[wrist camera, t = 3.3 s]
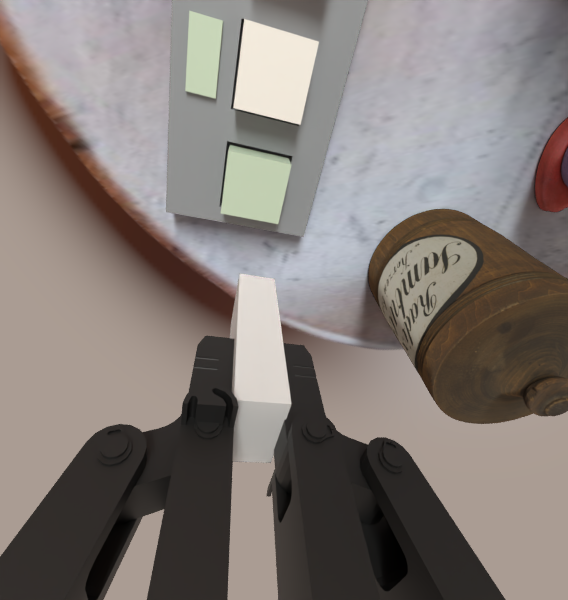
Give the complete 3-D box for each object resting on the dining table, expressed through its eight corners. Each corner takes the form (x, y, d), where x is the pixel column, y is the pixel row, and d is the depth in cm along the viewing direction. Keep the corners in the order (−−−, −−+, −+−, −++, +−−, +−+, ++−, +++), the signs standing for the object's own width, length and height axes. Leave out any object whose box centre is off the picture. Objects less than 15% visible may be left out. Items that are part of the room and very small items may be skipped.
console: (187, -202, 20) (177, -247, 18) (389, -116, 23) (408, -144, 20) (172, 202, 34) (165, 213, 31) (299, 226, 37) (303, 238, 34)
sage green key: (230, 144, 29) (228, 150, 27) (288, 158, 30) (291, 164, 28) (223, 203, 32) (220, 213, 30) (276, 213, 33) (278, 224, 31)
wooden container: (386, 201, 36) (524, 322, 18) (505, 214, 38) (736, 334, 20) (354, 309, 44) (426, 468, 26) (453, 315, 46) (585, 466, 28)
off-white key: (244, 25, 25) (244, 18, 22) (312, 45, 26) (319, 41, 23) (235, 105, 28) (233, 107, 25) (296, 121, 29) (300, 124, 26)
